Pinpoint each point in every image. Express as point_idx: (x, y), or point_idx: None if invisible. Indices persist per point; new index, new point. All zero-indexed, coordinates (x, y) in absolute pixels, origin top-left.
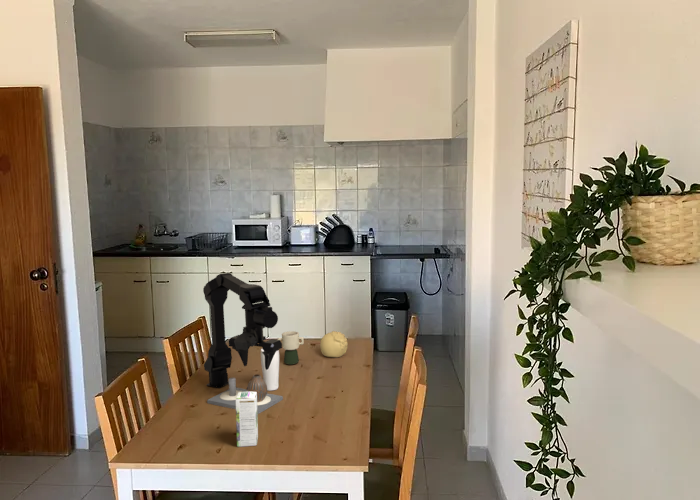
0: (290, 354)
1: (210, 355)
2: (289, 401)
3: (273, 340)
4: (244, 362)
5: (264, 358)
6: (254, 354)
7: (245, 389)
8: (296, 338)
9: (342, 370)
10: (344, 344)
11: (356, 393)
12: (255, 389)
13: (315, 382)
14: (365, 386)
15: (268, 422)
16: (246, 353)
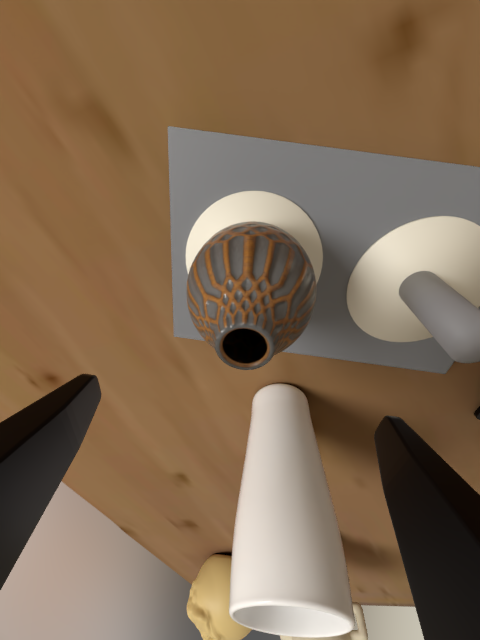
0: None
1: None
2: (140, 318)
3: None
4: (409, 456)
5: (300, 540)
6: None
7: (374, 361)
8: (294, 638)
9: (156, 511)
10: (189, 597)
11: (4, 414)
12: (224, 243)
13: (169, 454)
14: None
15: (31, 10)
16: (444, 627)
